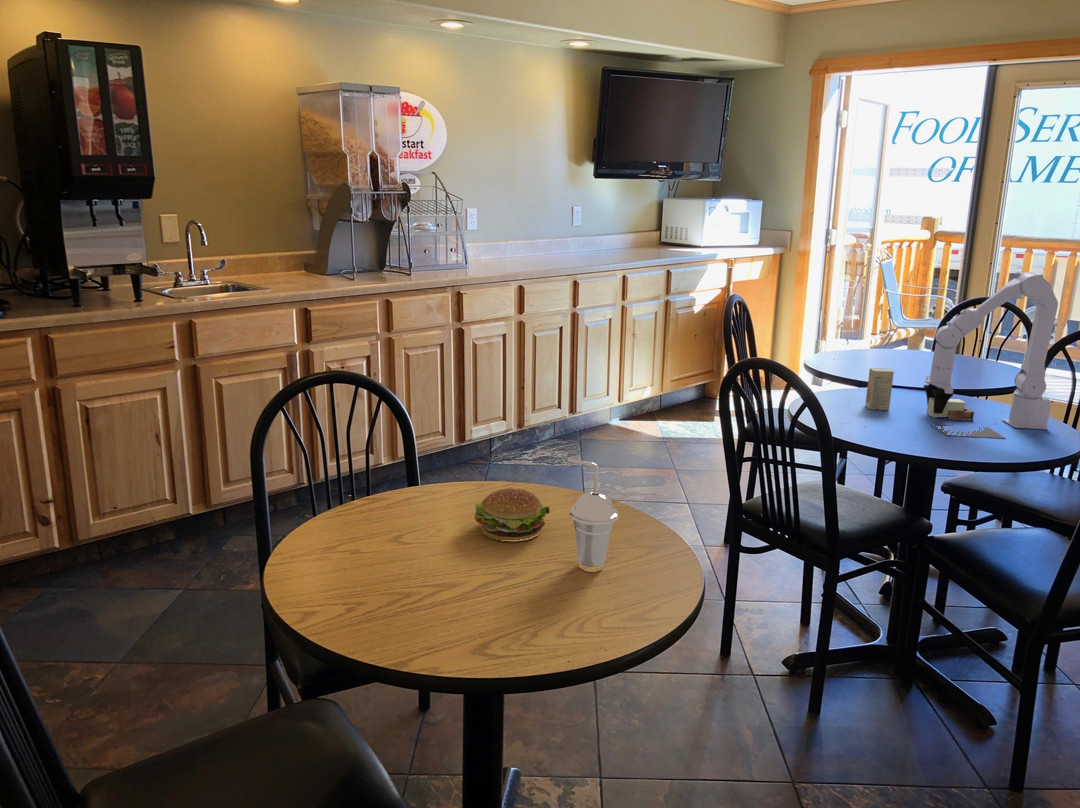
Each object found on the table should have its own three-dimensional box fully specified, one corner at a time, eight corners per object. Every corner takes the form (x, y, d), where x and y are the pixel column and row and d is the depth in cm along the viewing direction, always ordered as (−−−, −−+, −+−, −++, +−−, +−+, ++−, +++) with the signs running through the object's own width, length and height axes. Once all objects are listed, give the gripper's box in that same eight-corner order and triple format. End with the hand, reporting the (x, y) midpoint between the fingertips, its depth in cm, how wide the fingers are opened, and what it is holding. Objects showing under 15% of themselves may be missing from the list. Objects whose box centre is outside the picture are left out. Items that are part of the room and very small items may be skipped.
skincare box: (885, 406, 259) (890, 368, 256) (889, 410, 255) (895, 371, 252) (863, 405, 260) (869, 367, 257) (867, 409, 256) (873, 370, 253)
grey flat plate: (988, 428, 240) (988, 427, 240) (1005, 438, 231) (1005, 438, 231) (931, 425, 241) (932, 424, 241) (946, 436, 231) (946, 435, 231)
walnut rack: (962, 414, 254) (963, 406, 254) (972, 420, 248) (974, 412, 247) (939, 413, 255) (940, 405, 254) (948, 419, 248) (950, 411, 247)
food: (458, 535, 158) (459, 496, 155) (500, 512, 169) (501, 475, 167) (520, 554, 151) (521, 513, 149) (559, 528, 162) (561, 490, 160)
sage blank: (957, 415, 253) (959, 399, 252) (962, 418, 249) (965, 402, 248) (926, 413, 253) (929, 397, 252) (931, 417, 250) (934, 401, 248)
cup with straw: (605, 582, 141) (611, 470, 136) (556, 570, 145) (561, 461, 140) (621, 562, 149) (629, 456, 143) (575, 551, 152) (580, 447, 147)
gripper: (918, 360, 254) (912, 403, 258) (938, 371, 241) (931, 417, 244) (942, 362, 254) (935, 405, 258) (963, 373, 240) (955, 418, 244)
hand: (934, 411), depth 251 cm, fingers closed on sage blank, 4 cm apart
